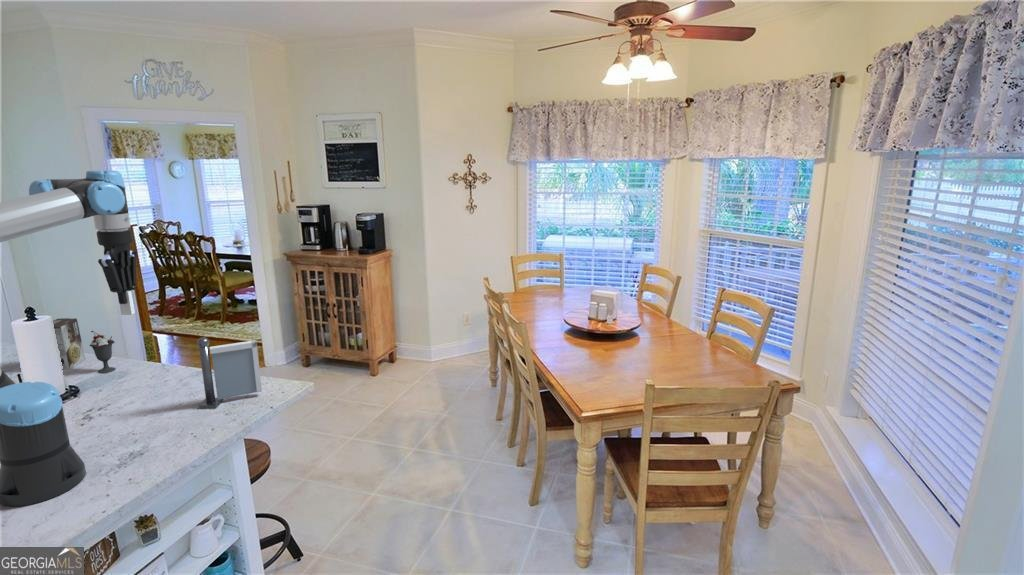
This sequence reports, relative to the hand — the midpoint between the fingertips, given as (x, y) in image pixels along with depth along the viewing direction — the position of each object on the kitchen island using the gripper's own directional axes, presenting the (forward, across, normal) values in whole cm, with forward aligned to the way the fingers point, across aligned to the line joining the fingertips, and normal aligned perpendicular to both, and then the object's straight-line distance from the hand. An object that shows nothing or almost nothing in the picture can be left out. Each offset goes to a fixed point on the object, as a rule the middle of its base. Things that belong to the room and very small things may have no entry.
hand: (128, 313), depth 142 cm
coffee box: (+31, +38, +46) cm, 68 cm away
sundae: (+31, +33, +30) cm, 54 cm away
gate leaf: (+29, +8, -24) cm, 38 cm away
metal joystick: (+30, +4, -16) cm, 35 cm away
